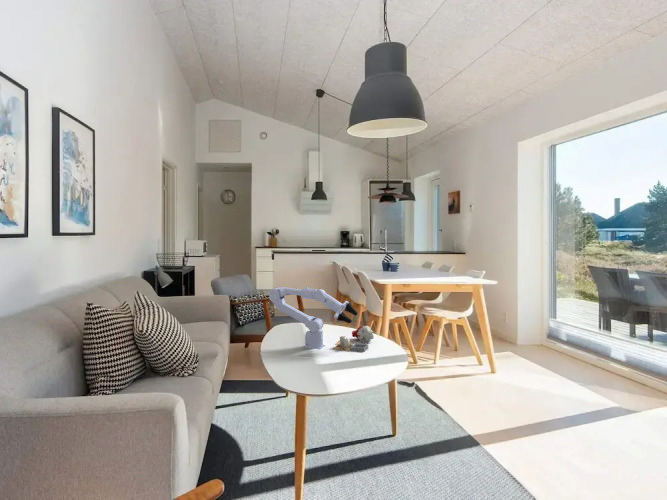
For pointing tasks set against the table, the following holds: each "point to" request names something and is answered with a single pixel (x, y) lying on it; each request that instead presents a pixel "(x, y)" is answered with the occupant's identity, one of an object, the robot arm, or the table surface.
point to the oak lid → (339, 342)
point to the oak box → (343, 348)
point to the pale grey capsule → (346, 343)
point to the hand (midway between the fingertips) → (354, 318)
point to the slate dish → (359, 347)
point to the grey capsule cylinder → (342, 341)
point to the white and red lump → (363, 334)
